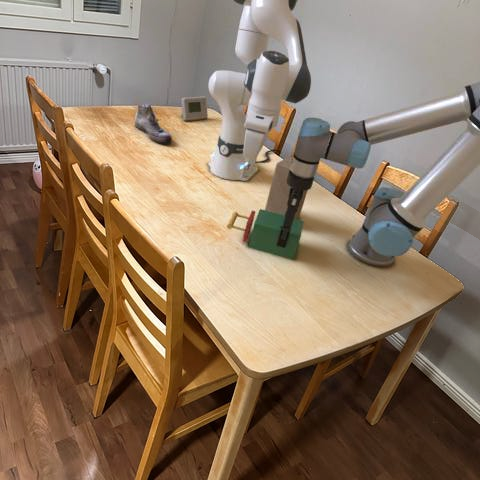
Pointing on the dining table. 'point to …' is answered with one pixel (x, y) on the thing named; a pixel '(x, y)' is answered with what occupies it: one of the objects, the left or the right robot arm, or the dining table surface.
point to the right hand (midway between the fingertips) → (283, 237)
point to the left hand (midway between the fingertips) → (252, 162)
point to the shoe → (151, 124)
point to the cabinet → (274, 234)
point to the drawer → (248, 225)
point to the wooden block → (282, 190)
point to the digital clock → (194, 108)
